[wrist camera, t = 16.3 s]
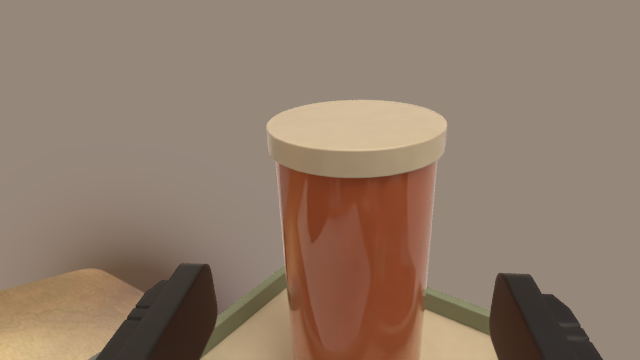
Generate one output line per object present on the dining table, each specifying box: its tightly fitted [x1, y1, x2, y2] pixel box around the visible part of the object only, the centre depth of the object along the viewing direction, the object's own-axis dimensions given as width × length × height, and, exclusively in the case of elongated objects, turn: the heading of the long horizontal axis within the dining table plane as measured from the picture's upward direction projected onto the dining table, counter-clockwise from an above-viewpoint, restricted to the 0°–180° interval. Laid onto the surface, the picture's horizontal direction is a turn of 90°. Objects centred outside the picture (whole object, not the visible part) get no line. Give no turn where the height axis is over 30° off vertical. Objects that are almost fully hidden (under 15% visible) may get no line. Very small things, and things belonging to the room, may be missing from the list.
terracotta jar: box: [266, 100, 447, 360], centre depth 15 cm, size 6×6×11 cm
